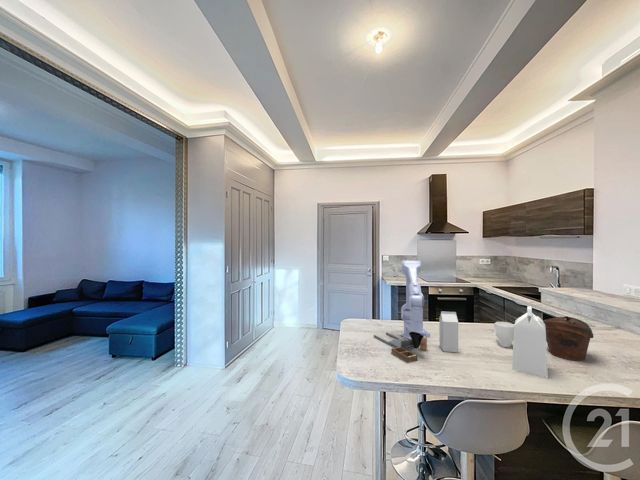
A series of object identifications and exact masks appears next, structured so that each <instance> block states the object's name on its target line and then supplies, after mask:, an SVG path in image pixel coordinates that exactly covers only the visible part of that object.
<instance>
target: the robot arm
mask: <svg viewBox="0 0 640 480" xmlns="http://www.w3.org/2000/svg"><path fill="white" fill-rule="evenodd" d="M421 264H422V263H421V261H420V260H419V259H418V260H401V273H402V275H405V281H406V283H405V286H406V287H405V291H406V292H405V295H406V299H405V302H406V303H404V304H403V305H402V306H401V309H400V314H401V315H400V316H401V320H402V321H403V333H401V334H400V336H401V337H404V339H405V338H406V339H407V340H410V339H412V341H413V345H414V349H416V350H417V349H420V343H421V340H422V338H423V337H425V338H427V339H428V338H430V337H431V332H429V331H427V330H425V329H424V317H423V316H424V310H423V309H424V306H425V297H424V294H423V293H422V288H421V284H420V283H419V282H418V275H419V274H420V272H421V271H422V265H421Z"/></svg>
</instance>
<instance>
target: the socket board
mask: <svg viewBox="0 0 640 480" xmlns="http://www.w3.org/2000/svg"><path fill="white" fill-rule="evenodd" d="M390 350H391V352H390V353H391V354H392V355H393V356H394V357H396V358H399V359H400V360H402V361H404V362H405V363H407V364H411V363H414V362H416V361H419V360H418V359H419V358H418V355H417V354H416V353H414V352H412V351H410V350H406V349H404V348H402V347H396V348H393V347H392V348H391V349H390Z"/></svg>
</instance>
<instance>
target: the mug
mask: <svg viewBox="0 0 640 480" xmlns="http://www.w3.org/2000/svg"><path fill="white" fill-rule="evenodd" d="M514 324H515V323H514ZM514 324H513V323H511V322H507V321H496V322H494V323H493V327H492V328H493V331H494V333H495V336H496V338H497V341H498V343H499V345H500V346H501V347H503V348H511V346H512V345H513V341H514Z"/></svg>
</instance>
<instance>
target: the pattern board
mask: <svg viewBox="0 0 640 480" xmlns="http://www.w3.org/2000/svg"><path fill="white" fill-rule="evenodd" d="M385 334H386V336H388V337H390V338H392V339H393V340H397V339H401V338H400V337H398V336H395V335H394V334H391V333H389V332H386V333H385ZM373 338H374V339H377V340H378V341H380V342H381V343H382V342H383V343H384V344H386V345H388V346H390V347H391V348H392V349H393V348H396V347H397V346H395V345H393V344H391V343H389V341H388V340H385V339H383V338H381V337H379V336H378V335H376V334H373ZM404 349H406V350H408V351H410V350H414V349H415V348H414V346H411V347H407V348H404Z"/></svg>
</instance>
